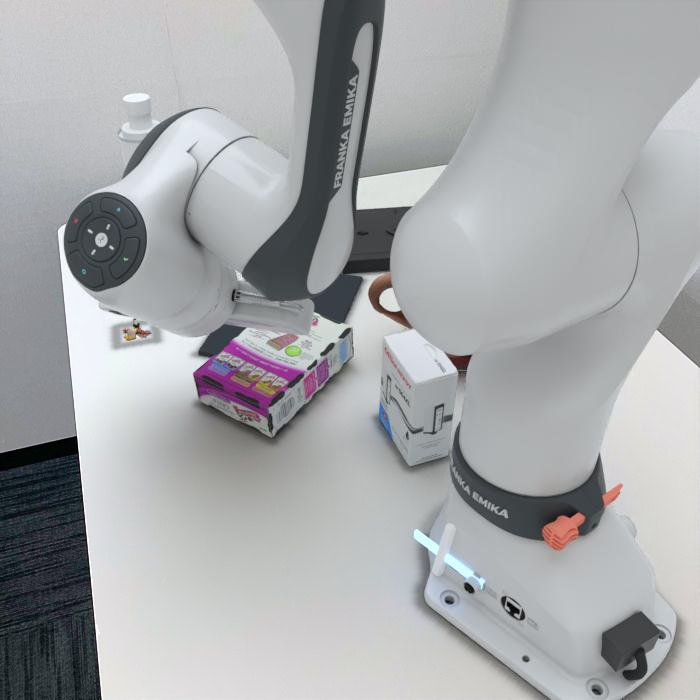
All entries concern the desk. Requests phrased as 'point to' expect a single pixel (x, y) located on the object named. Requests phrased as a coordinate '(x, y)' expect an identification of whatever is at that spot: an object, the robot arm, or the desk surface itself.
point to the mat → (327, 304)
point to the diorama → (133, 332)
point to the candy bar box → (273, 372)
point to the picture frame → (374, 239)
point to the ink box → (417, 396)
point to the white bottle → (135, 124)
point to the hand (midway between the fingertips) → (236, 315)
